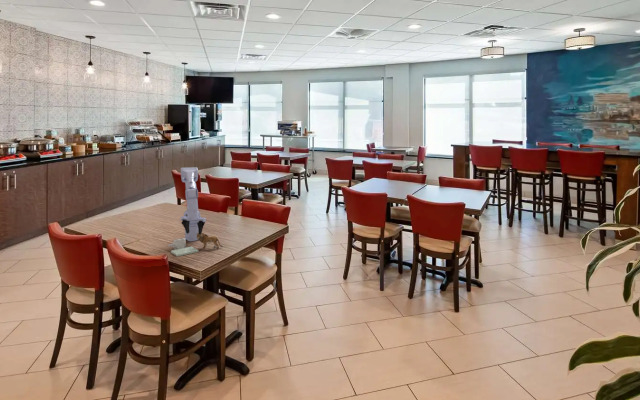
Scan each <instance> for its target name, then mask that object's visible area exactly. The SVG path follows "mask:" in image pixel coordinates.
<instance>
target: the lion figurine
mask: <svg viewBox="0 0 640 400" xmlns="http://www.w3.org/2000/svg"><path fill="white" fill-rule="evenodd" d="M196 241H199V242H200V243H203V247H202V248H203V249H206V247H207V244H208V243H209V244H211V243H213V244H214V246H213V247H215V248H216V250H217V249H219V248H220V247H224V246H223V245H221V243H220V240H219V238H218V237H217V236H215V235H213V236H209V235H208V234H206V233H205V232H204V233H203V232H202V234H199V233H197V240H196Z"/></svg>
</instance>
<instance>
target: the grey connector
mask: <svg viewBox="0 0 640 400" xmlns="http://www.w3.org/2000/svg"><path fill="white" fill-rule="evenodd" d="M186 242H187V241H186V239H185V238H184V237H181V238H180V237H179V238H177V239H176V238H175V239H173V240H172V243H169V244H168V247H170V248H172V247H173V248H172V249H173V250H177V249H182V248H186V247H187V244H186Z"/></svg>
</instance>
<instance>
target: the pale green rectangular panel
mask: <svg viewBox="0 0 640 400" xmlns="http://www.w3.org/2000/svg"><path fill="white" fill-rule="evenodd" d="M199 252H200V251H199V249H197V248H195V247H193V246H192V245H191V246H188V247H187V246H186V247H185V248H181V249H173V250H170V253H171V254H173V255H174V256H176V257H177V258H178V257H181V256H187V255H190V254H195V253H199Z"/></svg>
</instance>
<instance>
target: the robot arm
mask: <svg viewBox="0 0 640 400" xmlns="http://www.w3.org/2000/svg"><path fill="white" fill-rule="evenodd" d="M180 178H181V182H182V183H185V191H184V192H185V200H186V210H185V211H184V212H183V216H181V217H180V221H181V225H182V227H183V229H184V237H183V238H185V240H187V241H188V242H194V241H198V240H197V233H199V234H202V233H203V228H204V226H205V224H206V221H207V218H206V217H201V212H200V211H199V203H198V201H199V200H198V199H199V190H198V188H197V183H196V182H197V181H198V179H199V169H198V167H196V166H195V167H194V166H193V167H180Z"/></svg>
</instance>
